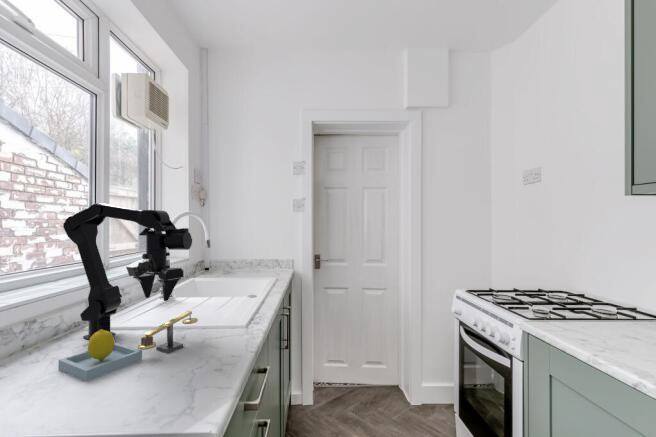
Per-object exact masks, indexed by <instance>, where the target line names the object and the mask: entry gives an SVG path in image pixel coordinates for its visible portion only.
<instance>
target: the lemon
mask: <svg viewBox="0 0 656 437" xmlns="http://www.w3.org/2000/svg"><path fill="white" fill-rule="evenodd" d="M110 332H111V331H110ZM110 332H109V331H105V330H103V329H101V330H99V331H98V332H96V333H94V334H93V335H92V336H91V338H90V340H89V339H88V344H87V351H88V352H89V355H90V356H91V357H92V358H94V359H98V360H99V361H103V360H104V359H105V358H106V357H107V356H109V355H110V354H111V353H112V351H113V349H114V342H115V338H114V335H112V334H111V333H110Z"/></svg>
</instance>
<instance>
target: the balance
mask: <svg viewBox="0 0 656 437" xmlns="http://www.w3.org/2000/svg"><path fill="white" fill-rule="evenodd" d="M192 314H193V311H191V310H187V311H185V312H183V313H181V314H179V315H177V316H175V317H174V318H172V319H170V320H169V321H166V322H164V323H162V324H161V325H159V326H157V327H155V328H153V329H152V330H150V331H148V332H145V333H144V336H142V337H141V338H140V344H138V345H137V349H138V350H141V351H144V350H150V349H153V348H155V350H156V351H159V352H161V353H164V354H169V353H172V352H175V351H178V350H180V349H183V348H184V343H183V342H178V341H174V324H176V323H178V322H179V321H181V323H182V324H184V325H192V324H195V323H198V321H199V319H198V318H197V317H191V315H192ZM187 317H189V318H187ZM164 330H166V342H165V343H162V344H160V345H157V342H156V341H154V336H155V335H157V334H159V333H160V332H162V331H164Z"/></svg>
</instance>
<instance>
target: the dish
mask: <svg viewBox="0 0 656 437" xmlns="http://www.w3.org/2000/svg"><path fill="white" fill-rule="evenodd" d="M142 360H143V350H140V349H138V348H135V347H131V346H128V345H124V344H122V343H118V342H115V341H114V349H113V351H112V353H111V354H110V355H109V356H107V357H106V358H105V359H104V360H103V361H99V360H98V359H94V358H92V357H91V356H90V355H89V352H88V350H85V351H82V352H79V353H78V352H77V353H75V354H72V355H69V356H66V357H62V358H59V359H58V363H57V364H58V371H61V372H62V373H65V374H68V375H69V376H72V377H73V378H76V379H78V380H81V381H82V382H83V381H84V382H85V383H88V382H89V381H90V382H91V381H92V380H95V379H97V378H100V377H103V376H105V375H108V374H110V373H113V372H115V371H118V370H121V369H123V368H126V367H129V366H131V365H134V364H136V363H138V362H141V361H142Z"/></svg>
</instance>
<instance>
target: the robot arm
mask: <svg viewBox="0 0 656 437" xmlns="http://www.w3.org/2000/svg"><path fill="white" fill-rule="evenodd" d="M106 218H112V219H118V220H122V221H129V222H133V223H136V224H138V225H139V226H142V227H145V228H144V229H143V230H142V231H141V232H139V233H138V234H139V236H140V237H141V236H146V237H145V239H146V240H145V242H146V245H145V247H146V248H145V249H146V250H145V253H142V254H141V255H142V256H141V259H139V260H136V261H134V262H132V263H129V264H128V265H126V266H125V268H126V270H127V271H126V272H127V273H128V276H129V277H132V278H133V279H135V280H136V281H138V282H139V284H140V286H141V288H142V292H143V294H144V296H145V298H146V299H149V298H150V297H151V294H152V290H153V286H154V281H155V278H156V276H158V278H159V279H158V280H157V281H158V282H159V283H160V284H161V286H162V287H161V288H162V296H163V301H164V302H167V301H169V299H170V297H171V295H172V294H173V291H174V289H175V287H176V286H177V284H178V282H179V281H180V280H181V279H182V278H185V277H184V275H185V273H184V269H182V267H170V265H169V264H168V262H167V259H168V258H167V257H171V252H168V251H167V250H172V251H175V250H176V251H178V250H180V251H183V250H184V251H185V250H187V251H188V250H190V249H191V247H192V245H193V238H192V234H191V233H190V231H189V230H190V228H188V227H185V228H184V227H183V228H177V227H176V226H175V224H174V223H173V222H172V220H171V218H170V215H169V213H168V212H167V211H165V210H157V209H140V210H139V209H135V208H129V207H123V206H116V205H111V204H108V203H104V202H103V203H99V202H95V203H93V204H92V205H90V206H89V207H87V208H84V209H83V210H80V211H78V212H76V213H74V214H73V215H70V216H69V217H67V218H66V219H65V220H64V222H63V223H62V224H63V225H62V226H63V230H64V231H65V233H66V235H67V237H68V239H70V240H71V241H72V242H73V243H74V244H75V245H76V247H77V250H78V254H79V256H80V259H81V263H82V266H83V269H84V272H85V275H86V278H87V281H88V284H89V293H88V297H87V302H88V306H86V307H85V309H84V310H83V311H82V312H81V313H80V315H79V316H80V318H81V319H80V320H82V322H88V323H87V324H88V328H87V329H88V333H87V334H85V335H83V337H82V338H83V339H86V340H88V341H89V340H90V338H91V336H92V335H93V334H94V333H96V332H98V331H99V330H101V329H103V330H105V331H109V332H110V333H111V334H112V335H113V336H115V335H116V332H113V331H111V315H114V314H116V313H117V310H118V308H119V307H120V306H121V303H122V298H123V295H122V294H121V292H120V287H119V286H118V285H114V286H113V285H112V284H111V283H110V282H109V279H108V277H107V273H106V270H105V267H104V263H103V261H102V257H101V254H100V250H99V247H98V245H97V241H96V240H97V236H98V234H99V230H98V227H99V226H100V225H101V224H103V222H104V221H105V220H106ZM152 229H153V230H152Z"/></svg>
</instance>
